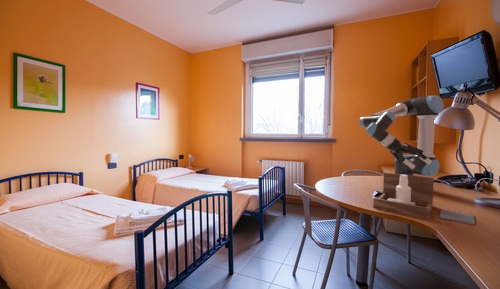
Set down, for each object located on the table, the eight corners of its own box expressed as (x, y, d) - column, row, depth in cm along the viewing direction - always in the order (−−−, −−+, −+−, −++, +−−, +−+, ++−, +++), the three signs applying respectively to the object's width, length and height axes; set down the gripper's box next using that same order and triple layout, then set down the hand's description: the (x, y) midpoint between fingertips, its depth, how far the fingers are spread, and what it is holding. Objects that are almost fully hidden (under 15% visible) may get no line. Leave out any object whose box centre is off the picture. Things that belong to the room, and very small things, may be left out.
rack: (383, 197, 140) (384, 172, 138) (432, 206, 123) (433, 177, 122) (373, 207, 123) (373, 179, 122) (428, 218, 107) (429, 186, 105)
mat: (441, 210, 117) (441, 208, 117) (473, 215, 109) (473, 214, 109) (439, 218, 107) (439, 216, 107) (474, 225, 99) (474, 224, 99)
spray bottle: (407, 204, 125) (408, 173, 124) (412, 209, 119) (413, 176, 118) (393, 204, 127) (394, 173, 126) (398, 208, 121) (399, 176, 119)
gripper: (376, 151, 145) (404, 173, 140) (399, 140, 121) (434, 165, 116) (382, 143, 146) (411, 165, 142) (406, 130, 123) (441, 155, 118)
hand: (421, 165), depth 129 cm, fingers open, 13 cm apart
